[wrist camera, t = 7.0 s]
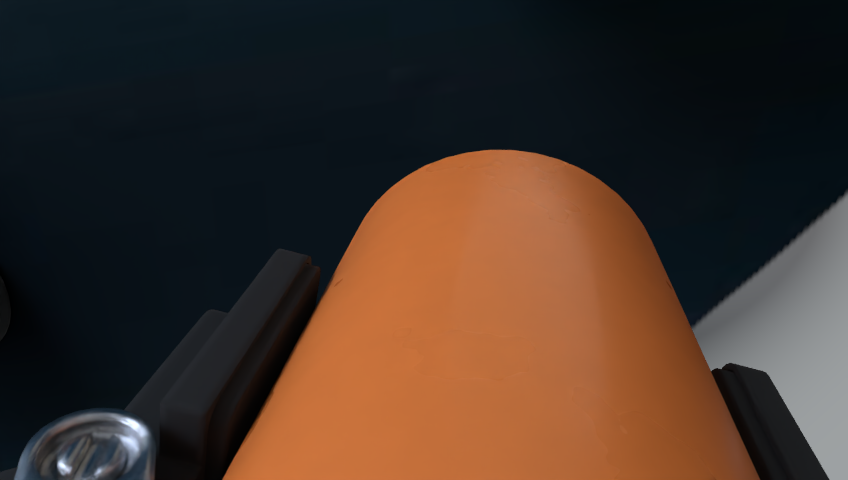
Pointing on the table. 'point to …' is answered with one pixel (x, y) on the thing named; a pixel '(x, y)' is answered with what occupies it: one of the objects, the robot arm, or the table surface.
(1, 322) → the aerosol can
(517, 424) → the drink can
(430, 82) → the table surface
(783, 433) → the robot arm
